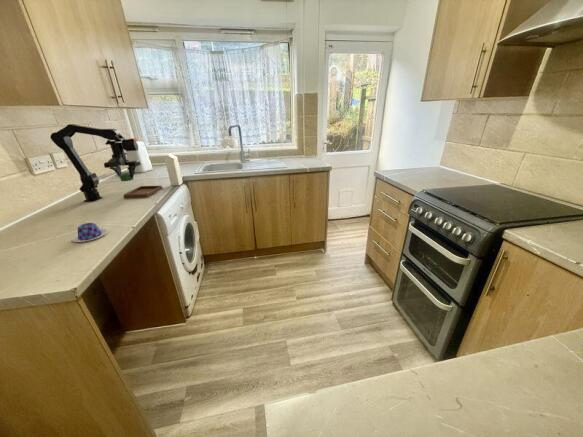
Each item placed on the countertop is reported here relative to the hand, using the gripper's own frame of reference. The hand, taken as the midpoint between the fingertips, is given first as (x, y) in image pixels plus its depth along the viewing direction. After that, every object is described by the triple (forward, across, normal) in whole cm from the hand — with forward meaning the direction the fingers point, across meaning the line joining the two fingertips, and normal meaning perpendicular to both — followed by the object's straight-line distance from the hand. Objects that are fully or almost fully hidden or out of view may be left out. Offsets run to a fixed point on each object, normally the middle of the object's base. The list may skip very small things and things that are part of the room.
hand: (126, 178), depth 148 cm
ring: (+1, 0, 0) cm, 1 cm away
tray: (+11, +4, +6) cm, 13 cm away
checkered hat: (+12, +16, -54) cm, 58 cm away
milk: (+12, +17, +25) cm, 32 cm away
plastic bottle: (+11, -37, +72) cm, 82 cm away
